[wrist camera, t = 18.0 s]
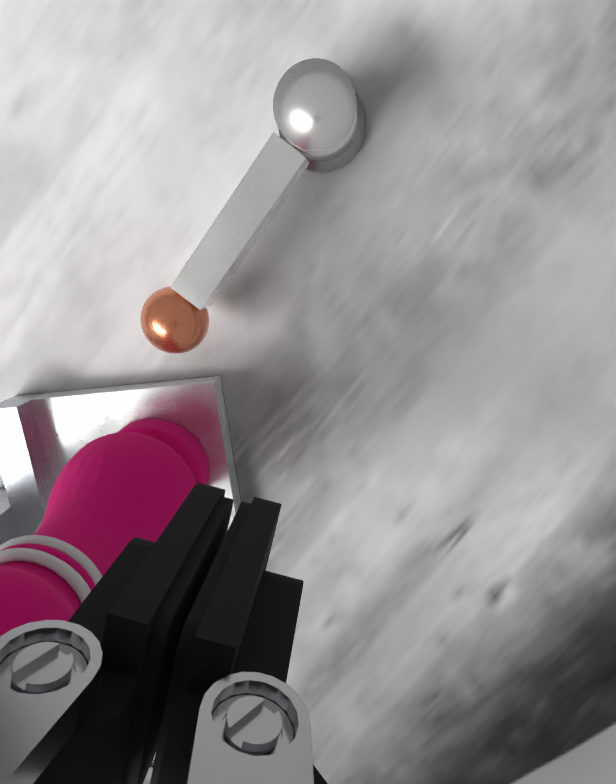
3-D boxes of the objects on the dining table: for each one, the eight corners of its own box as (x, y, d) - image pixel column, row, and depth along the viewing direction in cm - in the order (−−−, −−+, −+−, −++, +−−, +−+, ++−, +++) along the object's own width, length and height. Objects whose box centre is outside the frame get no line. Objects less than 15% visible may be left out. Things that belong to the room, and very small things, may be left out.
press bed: (401, 534, 35) (422, 701, 22) (14, 557, 38) (-158, 714, 25) (361, 72, 28) (359, -59, 16) (-101, 147, 31) (-409, 86, 19)
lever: (314, 67, 27) (305, 37, 23) (372, 114, 28) (373, 93, 24) (147, 317, 32) (115, 329, 27) (199, 357, 32) (175, 374, 28)
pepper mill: (172, 386, 32) (-119, 612, 13) (241, 489, 33) (73, 834, 14) (75, 446, 33) (-313, 726, 14) (145, 541, 35) (-125, 917, 16)
